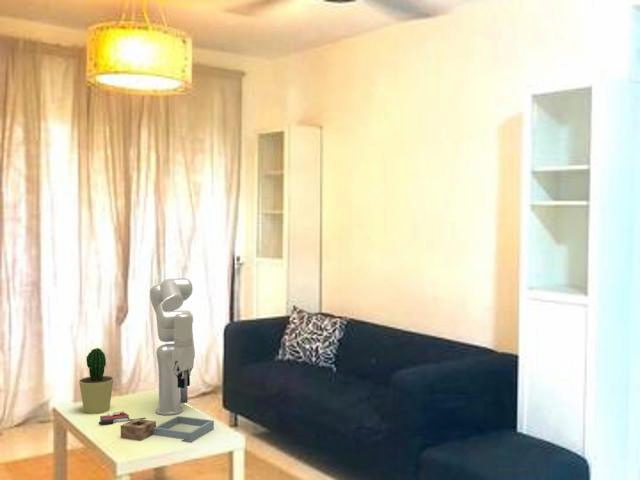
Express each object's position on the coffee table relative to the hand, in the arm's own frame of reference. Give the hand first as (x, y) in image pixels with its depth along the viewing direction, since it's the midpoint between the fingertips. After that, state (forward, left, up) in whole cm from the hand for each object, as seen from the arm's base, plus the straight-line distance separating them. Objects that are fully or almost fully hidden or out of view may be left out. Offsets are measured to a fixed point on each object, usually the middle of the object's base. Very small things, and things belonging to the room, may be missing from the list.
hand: (183, 386), depth 276 cm
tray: (0, 0, -20) cm, 20 cm away
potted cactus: (-13, -57, -20) cm, 62 cm away
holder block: (+12, -14, -20) cm, 27 cm away
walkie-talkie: (-4, -35, -21) cm, 41 cm away
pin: (0, 0, -7) cm, 7 cm away
